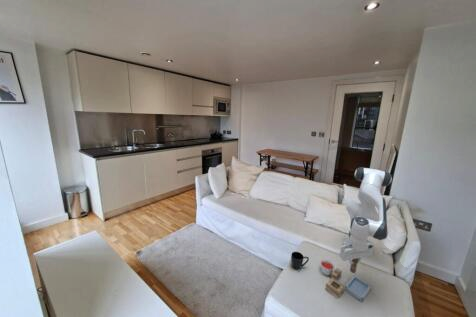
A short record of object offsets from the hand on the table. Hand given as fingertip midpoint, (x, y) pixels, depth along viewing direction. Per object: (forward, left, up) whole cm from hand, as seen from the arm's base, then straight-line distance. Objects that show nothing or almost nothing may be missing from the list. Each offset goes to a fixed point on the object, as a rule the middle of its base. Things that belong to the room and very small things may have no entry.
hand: (354, 262), depth 119 cm
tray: (-4, +4, -20) cm, 21 cm away
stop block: (-2, -9, -20) cm, 22 cm away
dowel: (0, 0, -6) cm, 6 cm away
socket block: (+8, -5, -20) cm, 22 cm away
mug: (+10, -30, -20) cm, 38 cm away
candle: (-2, -16, -20) cm, 26 cm away
